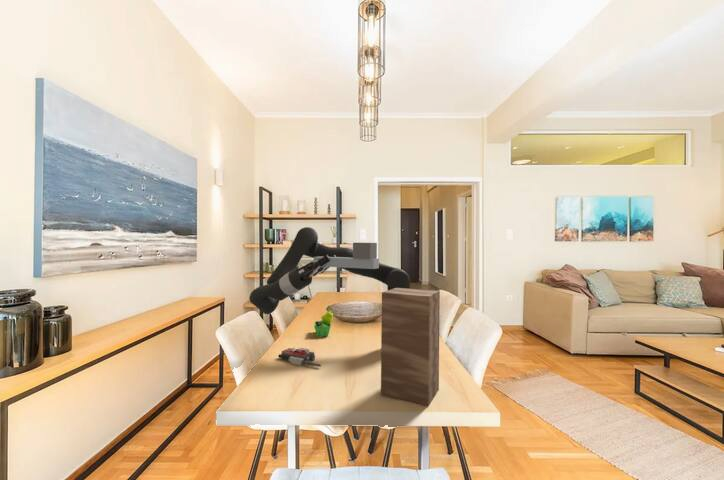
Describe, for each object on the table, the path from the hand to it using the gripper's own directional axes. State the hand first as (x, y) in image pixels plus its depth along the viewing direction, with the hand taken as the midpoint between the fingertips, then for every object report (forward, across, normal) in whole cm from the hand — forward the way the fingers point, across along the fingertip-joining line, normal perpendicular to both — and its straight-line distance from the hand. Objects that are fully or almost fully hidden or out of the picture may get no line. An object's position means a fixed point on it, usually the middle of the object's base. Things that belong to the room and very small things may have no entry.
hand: (331, 257), depth 114 cm
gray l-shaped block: (+3, 0, +5) cm, 6 cm away
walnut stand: (+4, 0, +48) cm, 48 cm away
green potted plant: (-45, +42, +20) cm, 65 cm away
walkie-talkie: (-34, +7, +26) cm, 44 cm away
